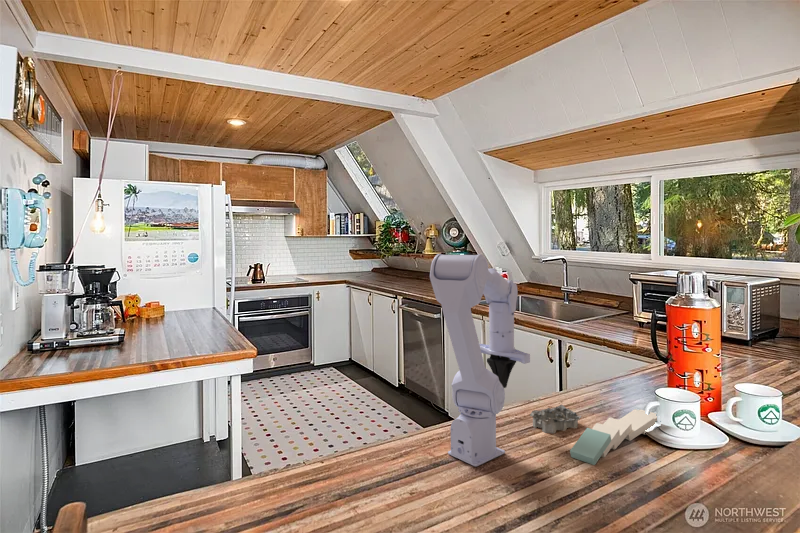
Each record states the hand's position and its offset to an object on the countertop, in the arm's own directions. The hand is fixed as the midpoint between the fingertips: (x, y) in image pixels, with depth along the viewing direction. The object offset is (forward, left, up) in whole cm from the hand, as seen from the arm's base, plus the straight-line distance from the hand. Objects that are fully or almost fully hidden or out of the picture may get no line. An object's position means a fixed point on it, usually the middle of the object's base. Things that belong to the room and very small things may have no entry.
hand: (501, 387), depth 115 cm
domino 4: (+16, -21, -9) cm, 28 cm away
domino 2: (+3, -21, -9) cm, 23 cm away
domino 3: (+9, -21, -9) cm, 24 cm away
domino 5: (+22, -22, -8) cm, 32 cm away
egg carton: (+11, -7, -10) cm, 17 cm away
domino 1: (-2, -21, -9) cm, 23 cm away
